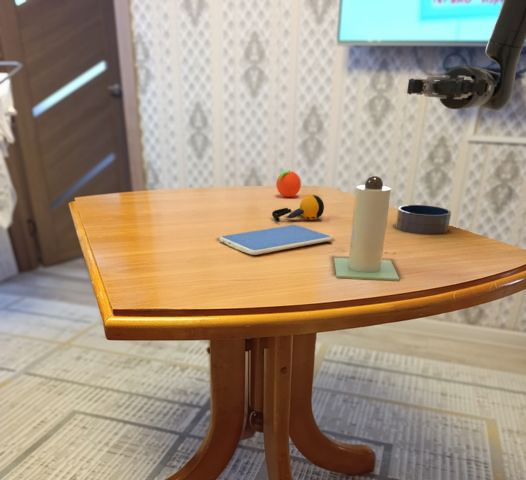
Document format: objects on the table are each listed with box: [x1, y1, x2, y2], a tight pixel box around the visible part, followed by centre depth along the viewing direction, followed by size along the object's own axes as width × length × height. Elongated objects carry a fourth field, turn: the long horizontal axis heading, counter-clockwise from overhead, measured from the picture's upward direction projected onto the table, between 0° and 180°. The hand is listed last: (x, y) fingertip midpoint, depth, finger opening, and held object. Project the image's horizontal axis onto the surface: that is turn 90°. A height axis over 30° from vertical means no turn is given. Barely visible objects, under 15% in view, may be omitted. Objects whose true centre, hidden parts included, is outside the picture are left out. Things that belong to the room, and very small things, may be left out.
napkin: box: [333, 257, 400, 282], centre depth 86 cm, size 10×10×1 cm
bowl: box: [395, 204, 452, 235], centre depth 111 cm, size 11×11×4 cm
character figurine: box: [271, 194, 325, 222], centre depth 119 cm, size 10×6×12 cm
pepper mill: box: [348, 175, 392, 272], centre depth 83 cm, size 5×5×15 cm
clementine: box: [275, 170, 302, 198], centre depth 142 cm, size 8×7×7 cm
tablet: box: [219, 224, 333, 256], centre depth 100 cm, size 19×13×1 cm, turn 125°
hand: (435, 86), depth 90 cm, fingers open, 8 cm apart
